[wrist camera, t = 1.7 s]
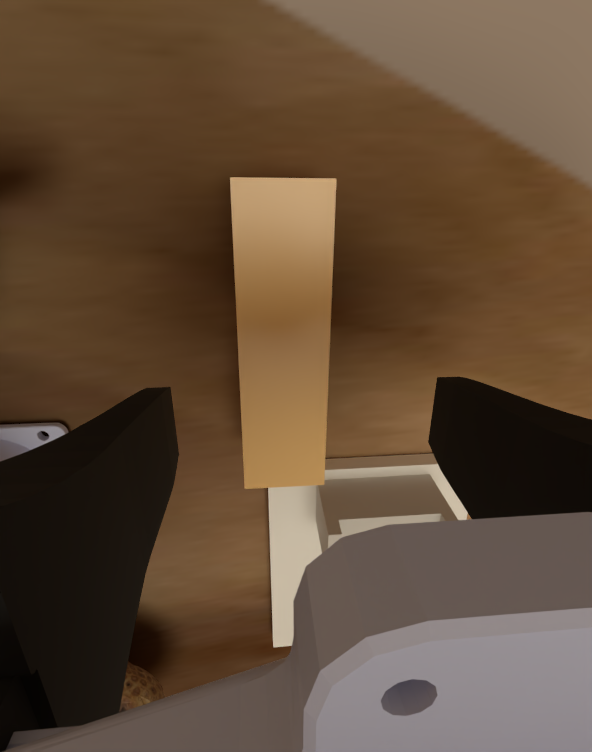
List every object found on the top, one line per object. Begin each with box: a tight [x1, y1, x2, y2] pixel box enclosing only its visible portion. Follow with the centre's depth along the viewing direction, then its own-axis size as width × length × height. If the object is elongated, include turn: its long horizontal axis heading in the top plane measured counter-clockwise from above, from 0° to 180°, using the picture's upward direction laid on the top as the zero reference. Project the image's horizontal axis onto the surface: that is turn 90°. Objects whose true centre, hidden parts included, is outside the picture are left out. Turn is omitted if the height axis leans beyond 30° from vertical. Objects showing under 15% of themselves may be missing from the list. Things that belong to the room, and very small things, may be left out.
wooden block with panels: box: [230, 177, 336, 489], centre depth 18 cm, size 4×12×4 cm, turn 0°
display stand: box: [268, 453, 468, 647], centre depth 24 cm, size 11×13×5 cm
